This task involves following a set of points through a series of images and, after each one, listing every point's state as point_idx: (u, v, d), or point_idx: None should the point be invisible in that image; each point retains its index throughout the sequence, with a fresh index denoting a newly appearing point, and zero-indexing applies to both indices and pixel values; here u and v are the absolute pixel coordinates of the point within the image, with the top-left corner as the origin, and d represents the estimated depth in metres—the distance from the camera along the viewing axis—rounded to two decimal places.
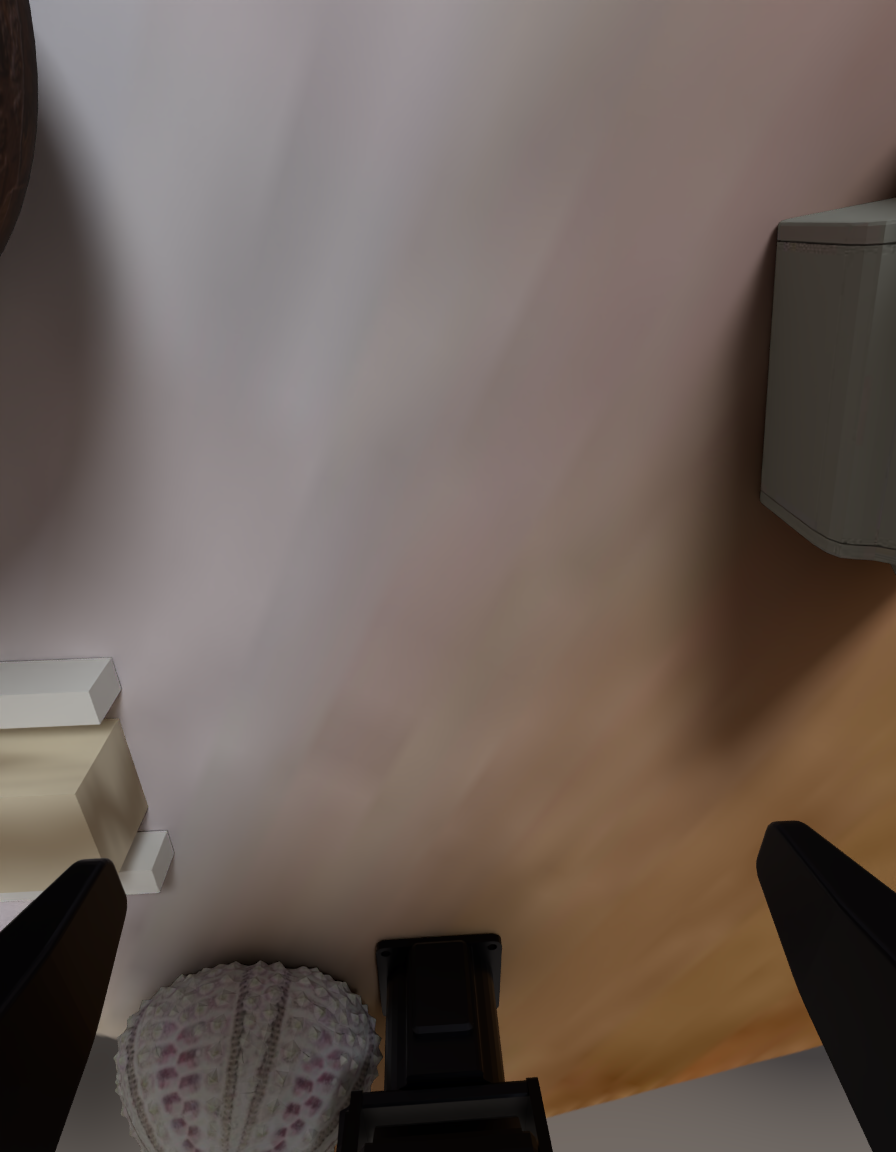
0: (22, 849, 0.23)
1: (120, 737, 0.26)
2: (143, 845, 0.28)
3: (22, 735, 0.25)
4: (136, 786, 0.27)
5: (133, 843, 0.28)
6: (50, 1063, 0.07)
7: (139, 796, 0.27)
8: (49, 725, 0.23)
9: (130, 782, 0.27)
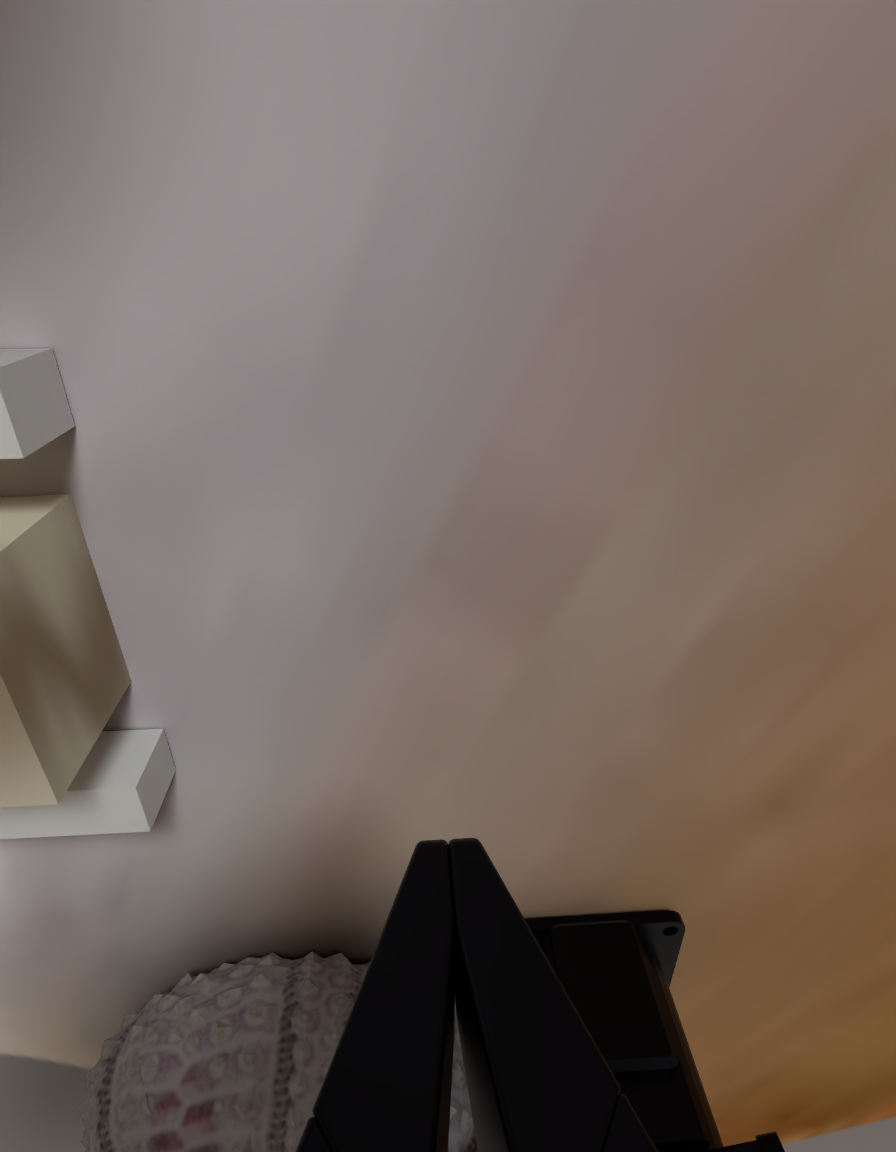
0: None
1: (74, 531, 0.14)
2: (122, 750, 0.16)
3: None
4: (107, 635, 0.15)
5: (105, 747, 0.16)
6: (452, 1036, 0.07)
7: (115, 657, 0.15)
8: None
9: (96, 623, 0.15)
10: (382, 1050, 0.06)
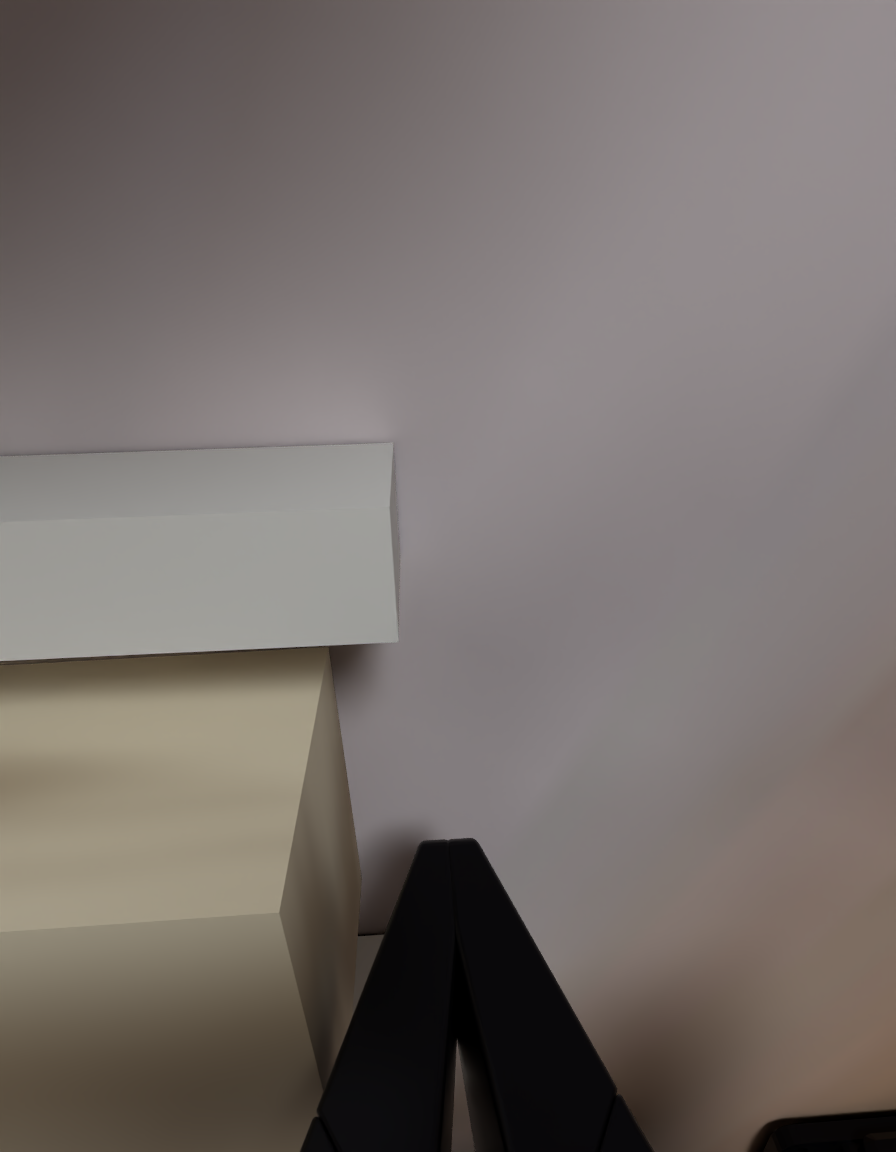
0: (67, 1090, 0.07)
1: (331, 706, 0.09)
2: None
3: (54, 702, 0.08)
4: (349, 839, 0.10)
5: None
6: (455, 1036, 0.07)
7: (353, 865, 0.11)
8: (223, 648, 0.07)
9: (345, 831, 0.10)
10: (386, 1050, 0.06)
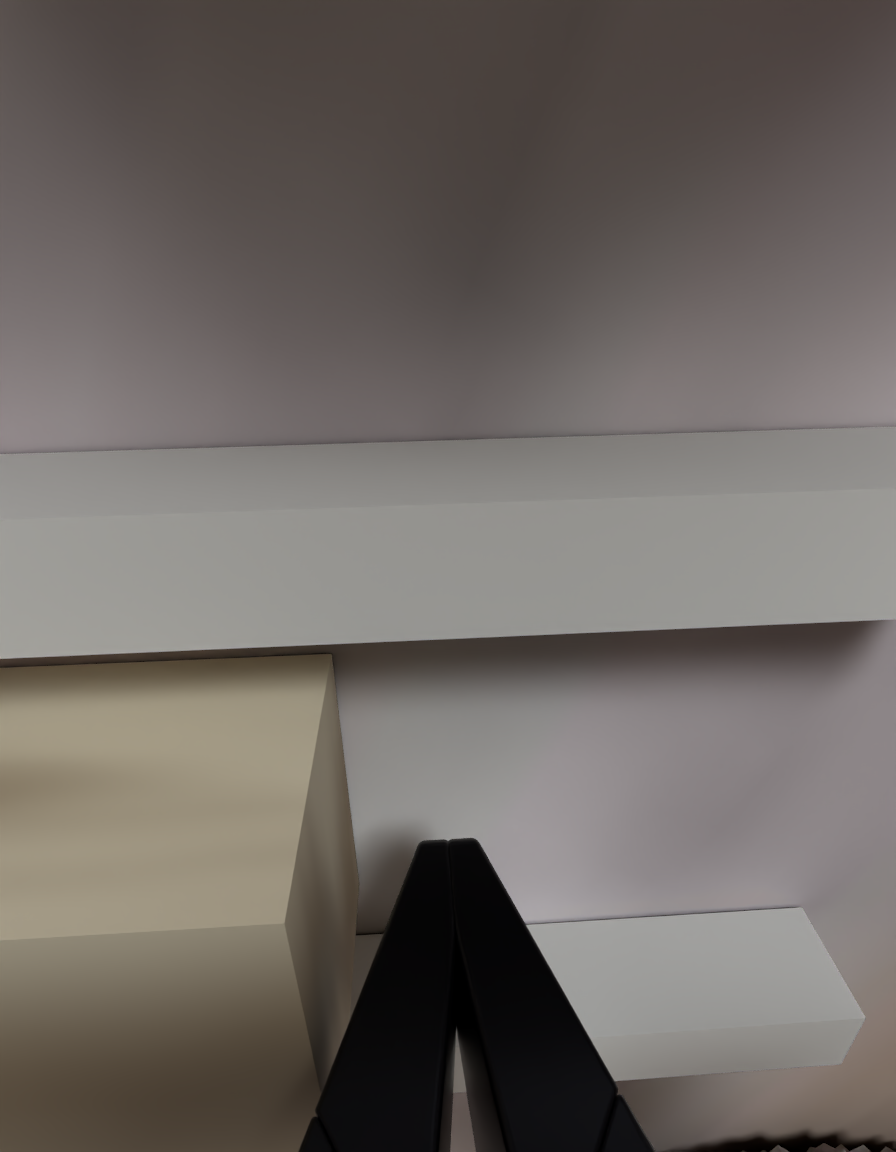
0: (66, 1097, 0.07)
1: (333, 714, 0.09)
2: (781, 946, 0.12)
3: (57, 705, 0.08)
4: (349, 845, 0.10)
5: (753, 941, 0.12)
6: (454, 1036, 0.07)
7: (352, 870, 0.11)
8: None
9: (344, 838, 0.10)
10: (384, 1050, 0.06)
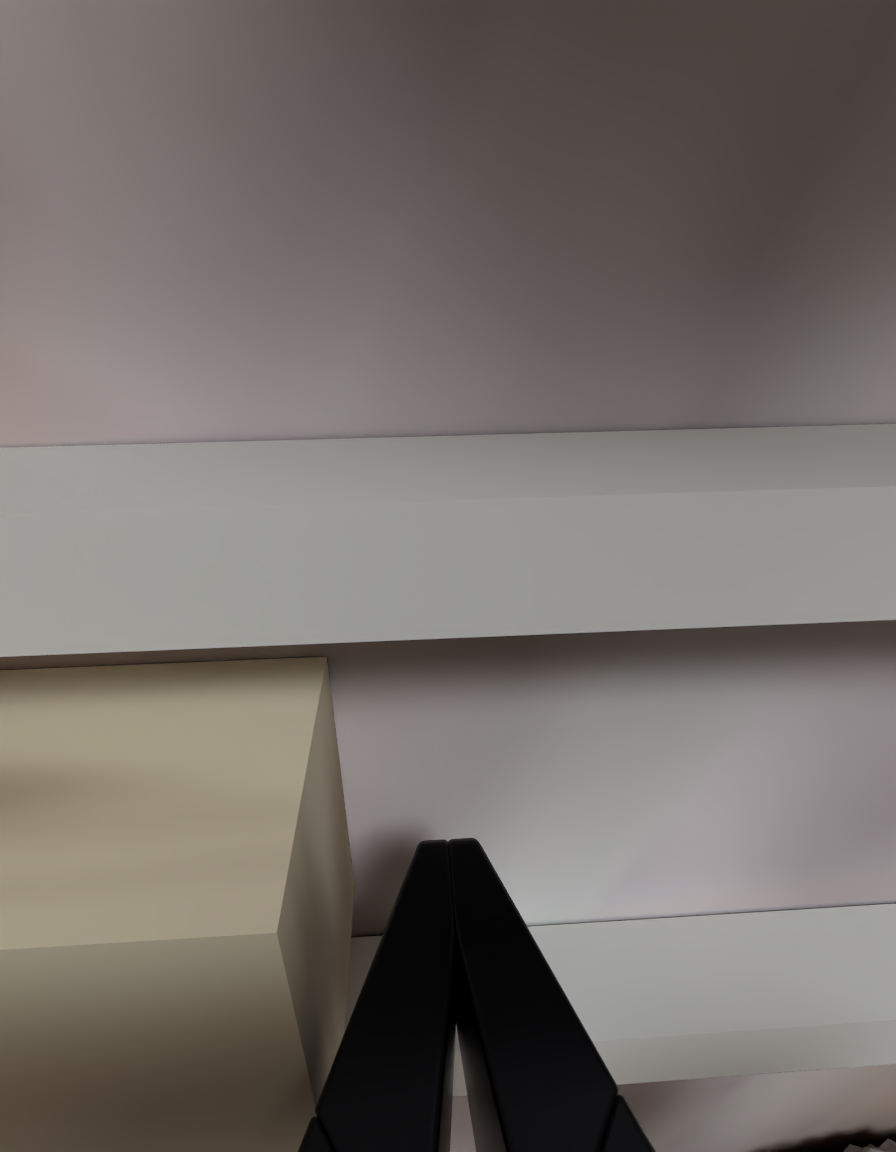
0: (55, 1107, 0.07)
1: (328, 717, 0.09)
2: None
3: (47, 709, 0.08)
4: (344, 848, 0.10)
5: None
6: (453, 1036, 0.07)
7: (348, 874, 0.10)
8: None
9: (340, 841, 0.10)
10: (384, 1050, 0.06)
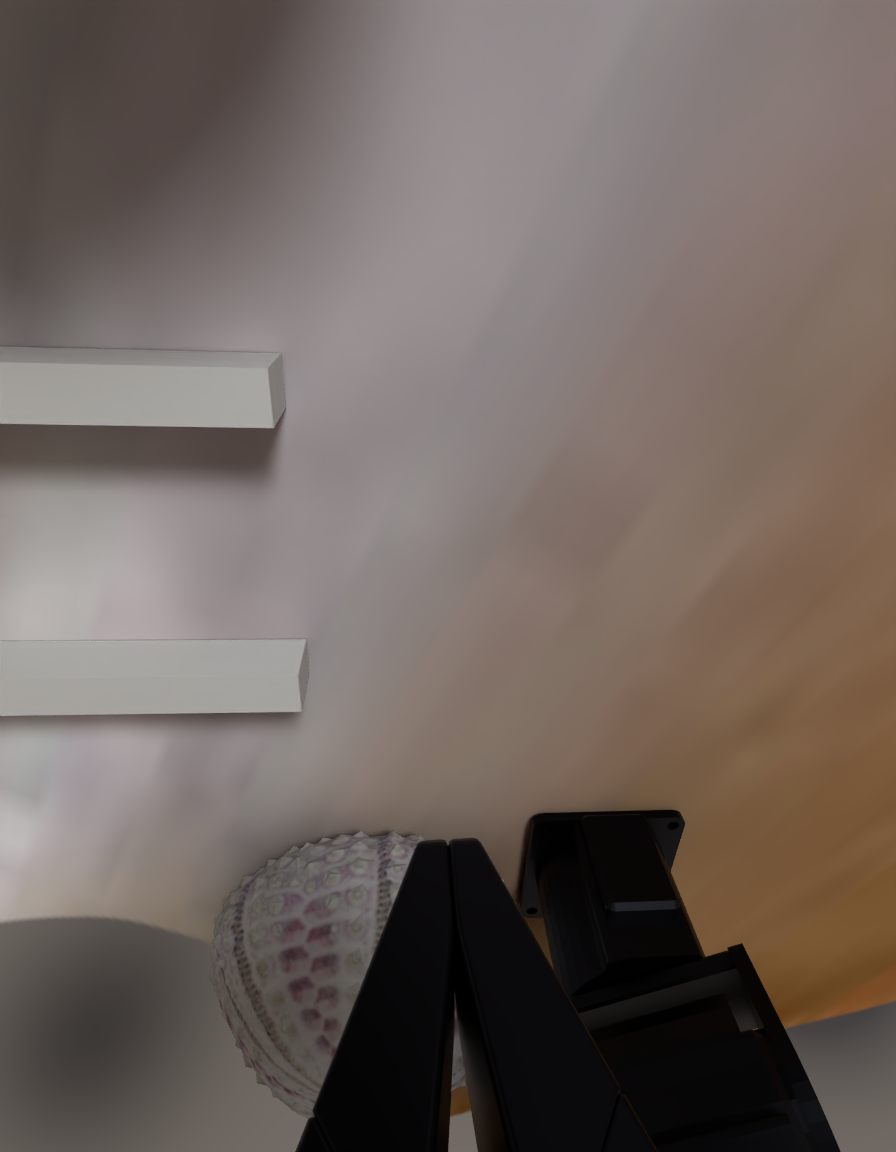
0: None
1: None
2: (279, 652, 0.22)
3: None
4: None
5: (266, 649, 0.22)
6: (452, 1036, 0.07)
7: None
8: (203, 426, 0.17)
9: None
10: (382, 1050, 0.06)
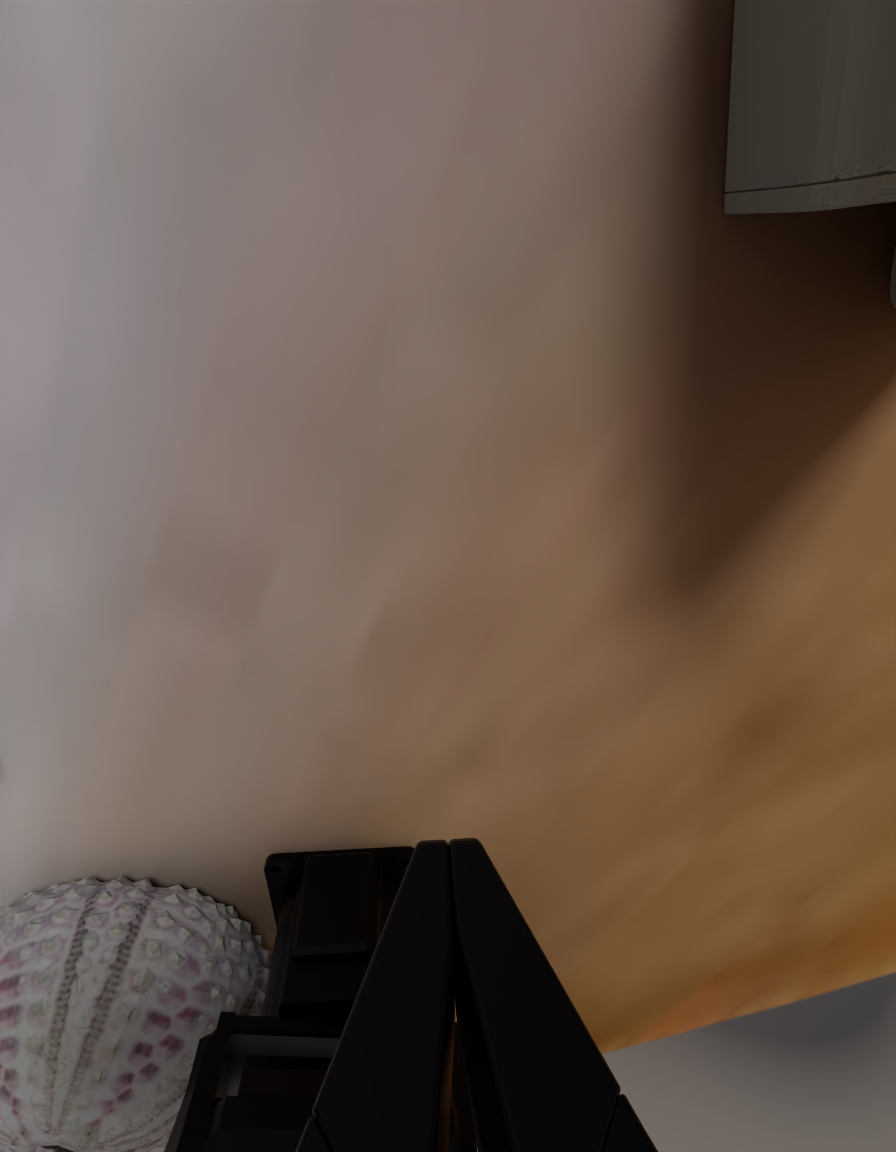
0: None
1: None
2: None
3: None
4: None
5: None
6: (452, 1036, 0.07)
7: None
8: None
9: None
10: (382, 1050, 0.06)
